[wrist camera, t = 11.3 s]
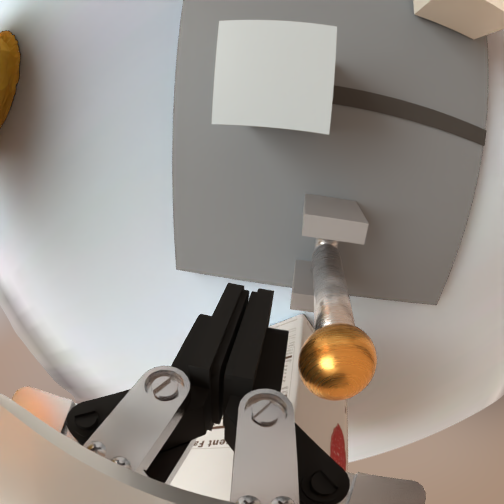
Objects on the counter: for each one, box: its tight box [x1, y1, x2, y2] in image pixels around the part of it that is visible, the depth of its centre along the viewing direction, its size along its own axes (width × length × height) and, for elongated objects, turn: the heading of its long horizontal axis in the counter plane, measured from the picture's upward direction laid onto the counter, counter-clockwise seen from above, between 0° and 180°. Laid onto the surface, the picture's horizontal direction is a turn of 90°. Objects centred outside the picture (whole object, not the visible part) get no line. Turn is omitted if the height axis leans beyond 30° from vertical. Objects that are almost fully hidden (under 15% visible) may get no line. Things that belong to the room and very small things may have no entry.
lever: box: [298, 238, 377, 401], centre depth 11 cm, size 2×2×9 cm
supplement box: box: [170, 314, 348, 501], centre depth 16 cm, size 9×9×15 cm
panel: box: [172, 0, 488, 312], centre depth 12 cm, size 22×18×5 cm
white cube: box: [212, 20, 337, 134], centre depth 10 cm, size 4×4×5 cm
